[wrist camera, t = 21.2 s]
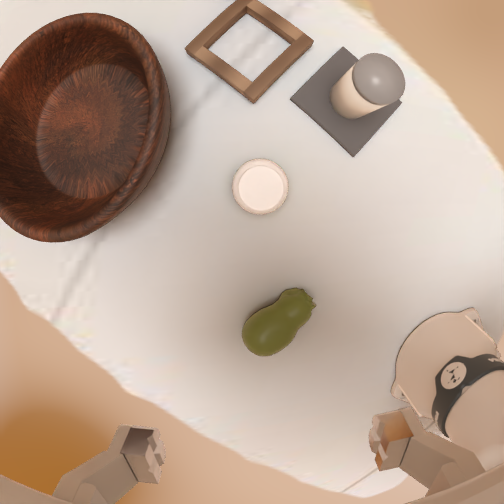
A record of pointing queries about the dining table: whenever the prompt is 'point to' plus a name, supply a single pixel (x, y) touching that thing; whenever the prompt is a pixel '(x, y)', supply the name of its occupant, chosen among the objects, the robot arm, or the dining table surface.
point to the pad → (321, 111)
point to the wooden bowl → (79, 126)
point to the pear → (277, 323)
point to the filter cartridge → (367, 86)
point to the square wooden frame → (250, 90)
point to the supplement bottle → (260, 186)
